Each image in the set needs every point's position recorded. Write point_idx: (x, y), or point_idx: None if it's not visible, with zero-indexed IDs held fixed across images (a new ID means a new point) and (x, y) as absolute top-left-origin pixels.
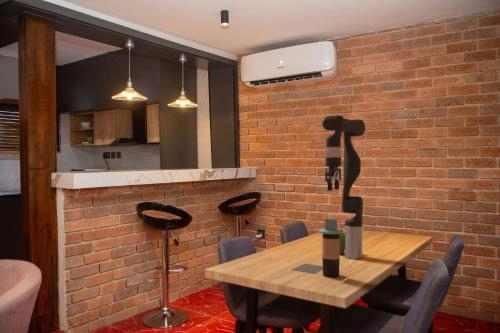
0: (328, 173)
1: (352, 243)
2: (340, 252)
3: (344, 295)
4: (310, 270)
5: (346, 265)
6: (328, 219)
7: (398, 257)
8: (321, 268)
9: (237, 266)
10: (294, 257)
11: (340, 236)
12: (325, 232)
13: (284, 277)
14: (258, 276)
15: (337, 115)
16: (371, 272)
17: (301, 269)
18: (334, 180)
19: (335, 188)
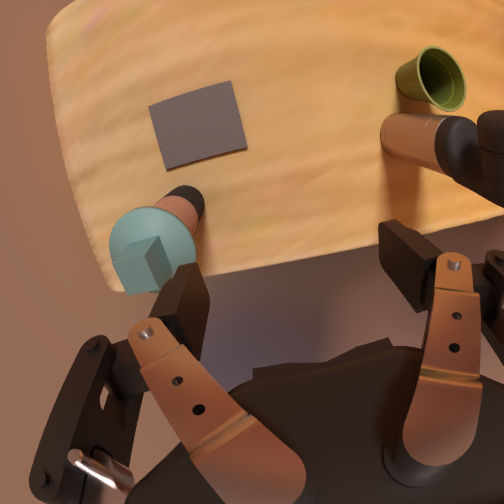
0: (185, 441)
1: (403, 147)
2: (405, 94)
3: (121, 288)
4: (181, 141)
5: (311, 165)
6: (118, 276)
7: (449, 220)
8: (220, 146)
9: (98, 14)
10: (281, 13)
11: (427, 95)
12: (113, 260)
13: (103, 141)
14: (73, 105)
15: None
16: (291, 244)
17: (171, 119)
18: (435, 273)
19: (382, 236)
